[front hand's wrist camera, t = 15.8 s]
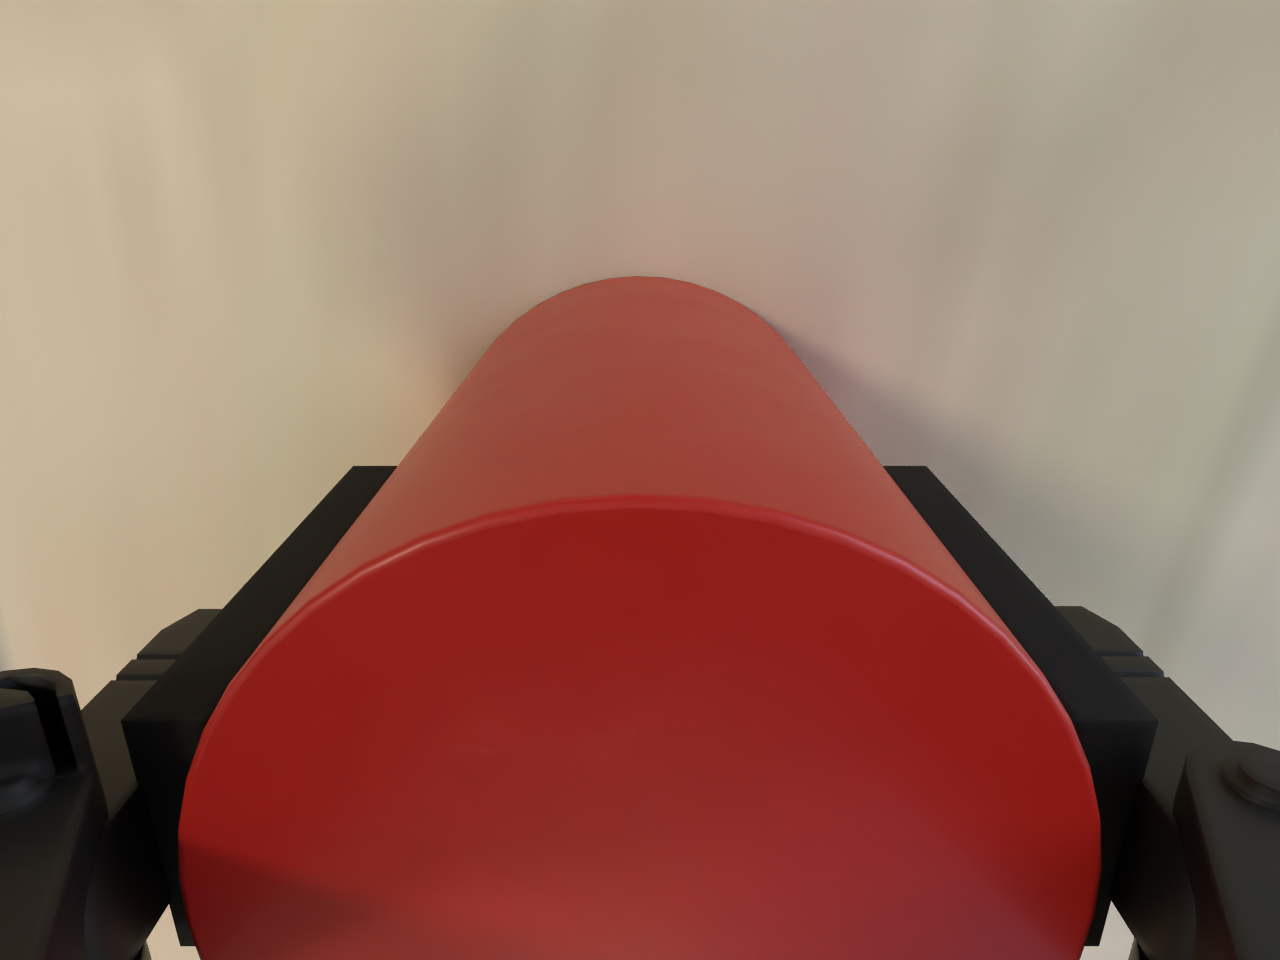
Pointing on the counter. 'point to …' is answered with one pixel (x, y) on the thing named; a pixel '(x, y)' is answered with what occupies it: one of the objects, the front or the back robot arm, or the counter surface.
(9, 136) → the counter surface
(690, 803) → the tin
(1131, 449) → the counter surface
